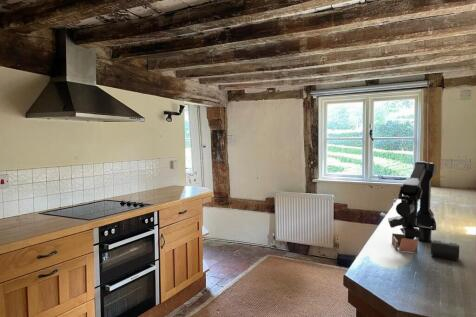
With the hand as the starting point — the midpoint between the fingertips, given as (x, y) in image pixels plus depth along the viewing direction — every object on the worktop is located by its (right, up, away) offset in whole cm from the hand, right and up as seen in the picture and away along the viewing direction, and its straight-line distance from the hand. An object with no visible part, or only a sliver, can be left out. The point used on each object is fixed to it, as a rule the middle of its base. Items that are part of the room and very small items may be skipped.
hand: (407, 246), depth 146 cm
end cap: (+13, -4, -5) cm, 15 cm away
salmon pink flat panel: (0, -2, +1) cm, 3 cm away
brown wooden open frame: (+2, -3, +7) cm, 8 cm away
